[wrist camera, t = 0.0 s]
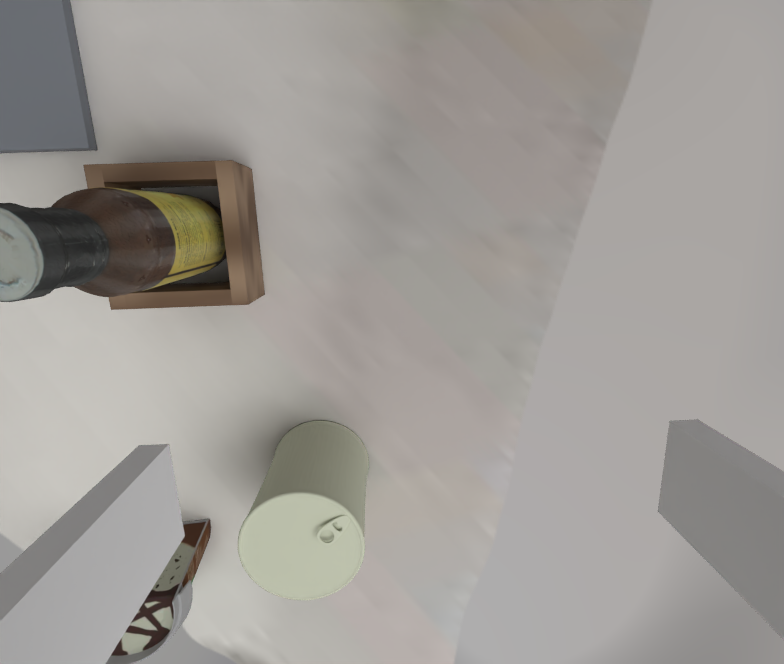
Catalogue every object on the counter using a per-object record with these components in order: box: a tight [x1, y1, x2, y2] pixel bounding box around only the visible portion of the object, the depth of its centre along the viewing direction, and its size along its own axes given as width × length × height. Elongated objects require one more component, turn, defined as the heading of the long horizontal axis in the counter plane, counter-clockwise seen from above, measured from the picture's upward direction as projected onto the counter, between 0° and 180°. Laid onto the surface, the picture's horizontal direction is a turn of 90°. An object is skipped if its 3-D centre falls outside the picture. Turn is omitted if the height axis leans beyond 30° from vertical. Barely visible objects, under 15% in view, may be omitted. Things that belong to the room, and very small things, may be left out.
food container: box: [106, 519, 211, 664], centre depth 39 cm, size 12×6×10 cm, turn 97°
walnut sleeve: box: [84, 160, 265, 310], centre depth 34 cm, size 10×10×5 cm
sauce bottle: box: [0, 187, 227, 302], centre depth 27 cm, size 6×6×20 cm
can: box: [238, 421, 369, 600], centre depth 36 cm, size 9×9×12 cm
